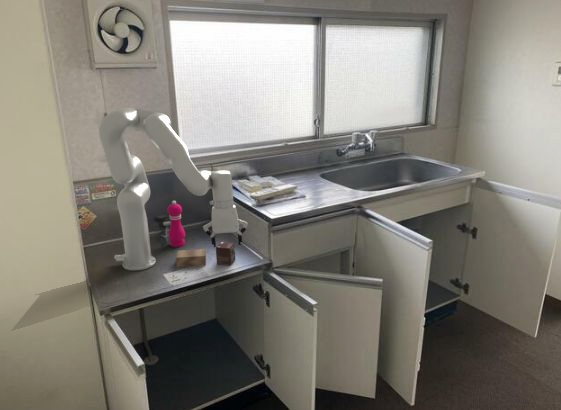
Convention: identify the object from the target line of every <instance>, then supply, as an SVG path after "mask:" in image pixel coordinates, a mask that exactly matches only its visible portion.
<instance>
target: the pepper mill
mask: <svg viewBox="0 0 561 410" xmlns="http://www.w3.org/2000/svg"><path fill="white" fill-rule="evenodd" d="M182 212H183V207H182V206H181V205H180V204H178V203H177V201H176V200H172V201H171V204H170V205H169V206H168V207H167V213H168V214H169V217H168V218H169V219H170V227H169V230H168V232H167V233H168V234H167V235H168V236H167V237H168V238H169V240H170V241H169V244H170V246H171V247H174V248H178V247H183V246H184V245H185V244H186V241H185V237H186V231H185V229H184V227H183V226H182V222H181V219H182Z"/></svg>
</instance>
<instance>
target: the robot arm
mask: <svg viewBox="0 0 561 410" xmlns="http://www.w3.org/2000/svg"><path fill="white" fill-rule="evenodd" d="M131 131H135V132H141V133H145V135H146V136H147V138H148V139H149V140H150V141H151V142H152V143H153V145H154V146H155V147H156V148H157V150H158V151H160V152H161V154H162V155H163V156H164V157H165V158H166V160H167V162H168V164H169V166H170V168H172V170H173V172H174V174H175V176H176V177H177V179H179V181H180V182H181V184H183V186H184V187H185V188H186V189H187V190H188V191H189V192H190V193H191V194H193V195H195V196H199V197H201V196H204V195H206V194H207V193H208V191H210V189H211V190H212V198H213V199H212V200H210V201H209V205H210V206H211V205H212V208H211V221H209V222H208V223H207V224H204V225H203V226H202V228H203V231H204V232H205V234H206V235H207V236H208V237H210V239H211V245H213V248H216V247H217V243H216V234H217V235H218V234H228V233H229V234H230V233H237V241H238V246H240V245H241V243H242V242H243V236H242V235H243V233H245V231H246V230H247V227H248V226H249V223H248V222H247V221H245V220H242V219H239V215H238V210H237V207H236V205H235V202H234V192H233V178H232V173H231V172H230V171H229V170H223V169H222V170H216V171H213V170H202V169H201V170H198V168H197V167H196V165H195V164H194V163H193V161H192V160H191V157H190V155H189V150H188V148H187V145H186V144H185V142H184V141H183V140H182V139H181V138H180V136H178V134H177V133H176V132H175V130H174V129H173V128H172V123H171V120H170V118H169V117H168V115H166V114H165V113H162V112H158V111H153V110H148V109H142V108H136V107H130V106H129V107H121V108H119V109H118V108H117V109H115V110H112V111H111V112H109V113H107V115H106V116H105V117H104V118H103V119H102V120H101V122H100V124H99V127H98V134H99V135H98V136H99V140H100V143H101V146H102V149H103V152H104V157H105V159H106V163H107V165H108V166H107V167H108V168H109V172H110V176H111V177H112V179H113V180H114V182H116V183H117V184H119V185H123V186H124V188H122V189H121V190H120V192H119V193H118V195H117V198H116V205H117V208H118V212H119V213H118V214H119V219H120V224H121V230H122V239H123V246H124V253H123V254H114V260H115V261H116V263H119V262H122V264H121V265H122V267H123V269H124V270H126V271H127V270H128V271H131V272H132V271H135V272H136V271H142V270H146V269H149V268H151V267H153V266H154V265H156V263H157V260H156V258H155V256H153V255H152V252H151V242H150V231H149V225H148V223H149V222H148V217H147V212H146V209H145V205H146V203H147V202H148V201H149V199H150V196H151V188H150V184H149V181H148V177H147V174H146V171H145V167H144V164H143V162H142V161H141V159H140V158H139V157H138V156H136V155H134V154H131V152H130V149H129V145H128V143H127V141H126V139H125V134H126V133H130V132H131ZM240 224H241V226H242V225H243V226H242V228H240ZM210 227H211V228H212V230H209V228H210Z"/></svg>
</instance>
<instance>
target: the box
mask: <svg viewBox="0 0 561 410" xmlns="http://www.w3.org/2000/svg"><path fill="white" fill-rule="evenodd" d="M235 248H236V247H235V242H230V241H229V242H227V241H220V242H219V243H218V244H217V245H216V247H215V258H216V265H219V266H220V265H223V266H232V265H233V264H234V262H235V260H236V249H235Z"/></svg>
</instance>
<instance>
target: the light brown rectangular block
mask: <svg viewBox="0 0 561 410" xmlns="http://www.w3.org/2000/svg"><path fill="white" fill-rule="evenodd" d="M206 251H207V249H206V248H200V249H196V248H195V249H183V250H177V253H176V256H175V260H176V262H175V263H176V268H184V267H199V266H206V264H207V263H206V262H207V252H206Z"/></svg>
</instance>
